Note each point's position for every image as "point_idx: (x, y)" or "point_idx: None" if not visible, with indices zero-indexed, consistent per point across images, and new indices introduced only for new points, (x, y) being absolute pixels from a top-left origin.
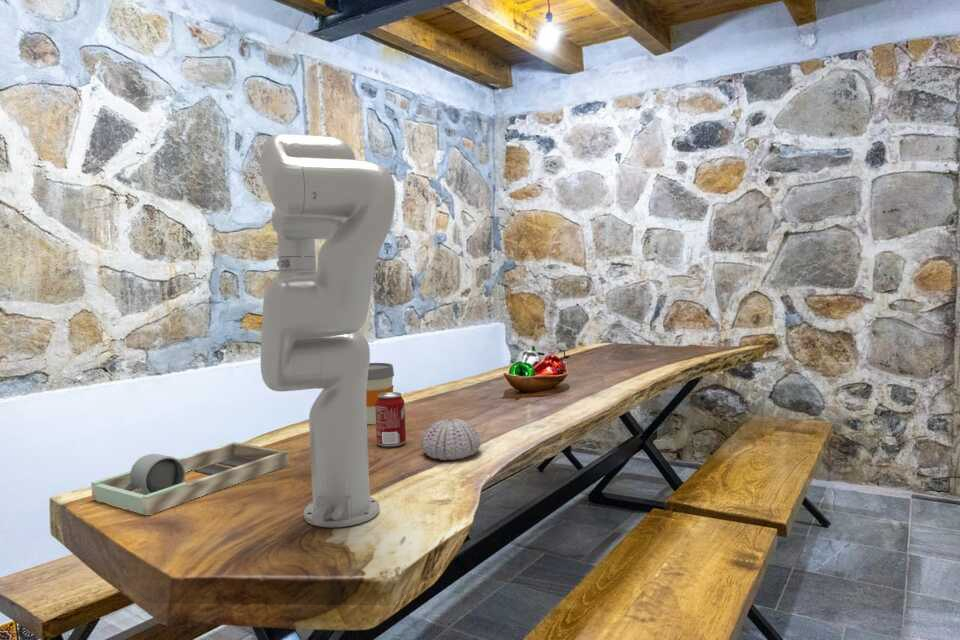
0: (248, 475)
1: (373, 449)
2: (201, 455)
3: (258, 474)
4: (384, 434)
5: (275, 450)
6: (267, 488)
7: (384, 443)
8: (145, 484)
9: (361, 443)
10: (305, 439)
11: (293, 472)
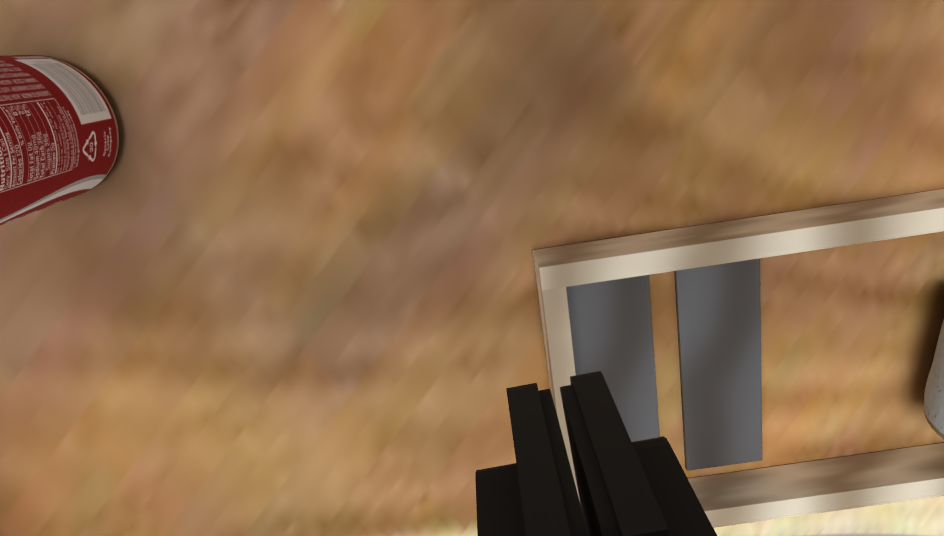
0: (736, 224)
1: (163, 137)
2: (736, 502)
3: (685, 229)
4: (80, 108)
5: (558, 322)
6: (761, 71)
7: (105, 105)
8: None
9: None
10: (274, 487)
11: (579, 156)
